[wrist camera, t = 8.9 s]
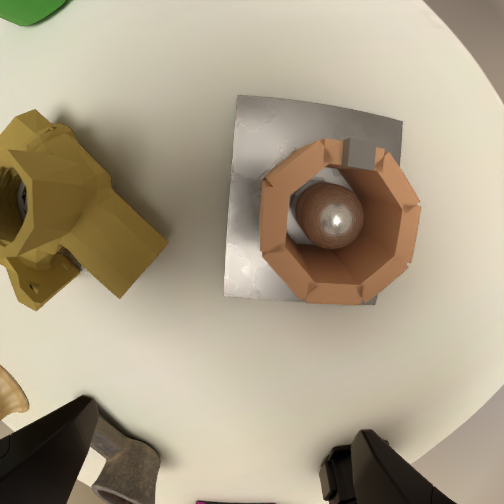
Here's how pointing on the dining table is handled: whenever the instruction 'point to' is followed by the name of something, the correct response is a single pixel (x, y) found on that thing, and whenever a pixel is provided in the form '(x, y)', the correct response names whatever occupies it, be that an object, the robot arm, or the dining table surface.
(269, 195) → the collar
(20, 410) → the hand bell
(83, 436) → the robot arm
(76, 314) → the dining table surface
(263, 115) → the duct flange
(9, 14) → the bottle
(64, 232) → the ball valve
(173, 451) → the dining table surface
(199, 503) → the candy bar box
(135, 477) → the pipe
